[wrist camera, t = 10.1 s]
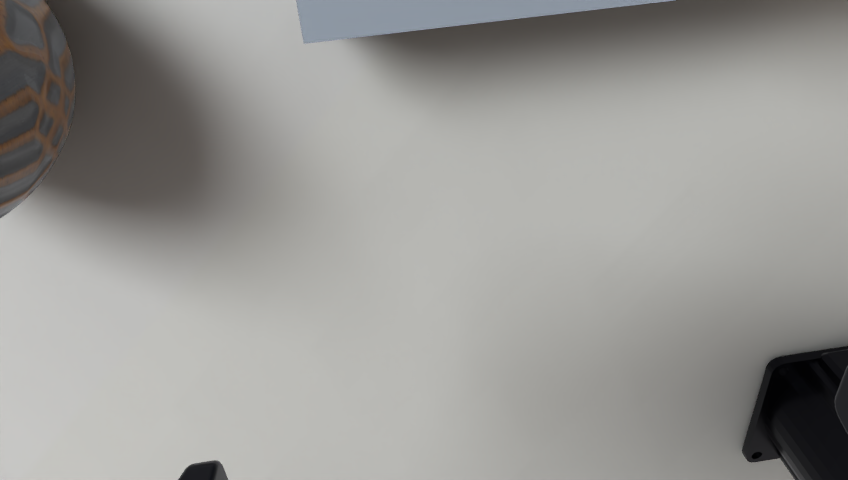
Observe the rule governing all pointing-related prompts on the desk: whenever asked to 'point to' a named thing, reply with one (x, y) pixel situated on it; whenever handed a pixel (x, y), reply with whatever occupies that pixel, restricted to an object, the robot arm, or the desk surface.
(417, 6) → the socket block
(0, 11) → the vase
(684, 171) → the desk surface
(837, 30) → the desk surface
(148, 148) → the desk surface
